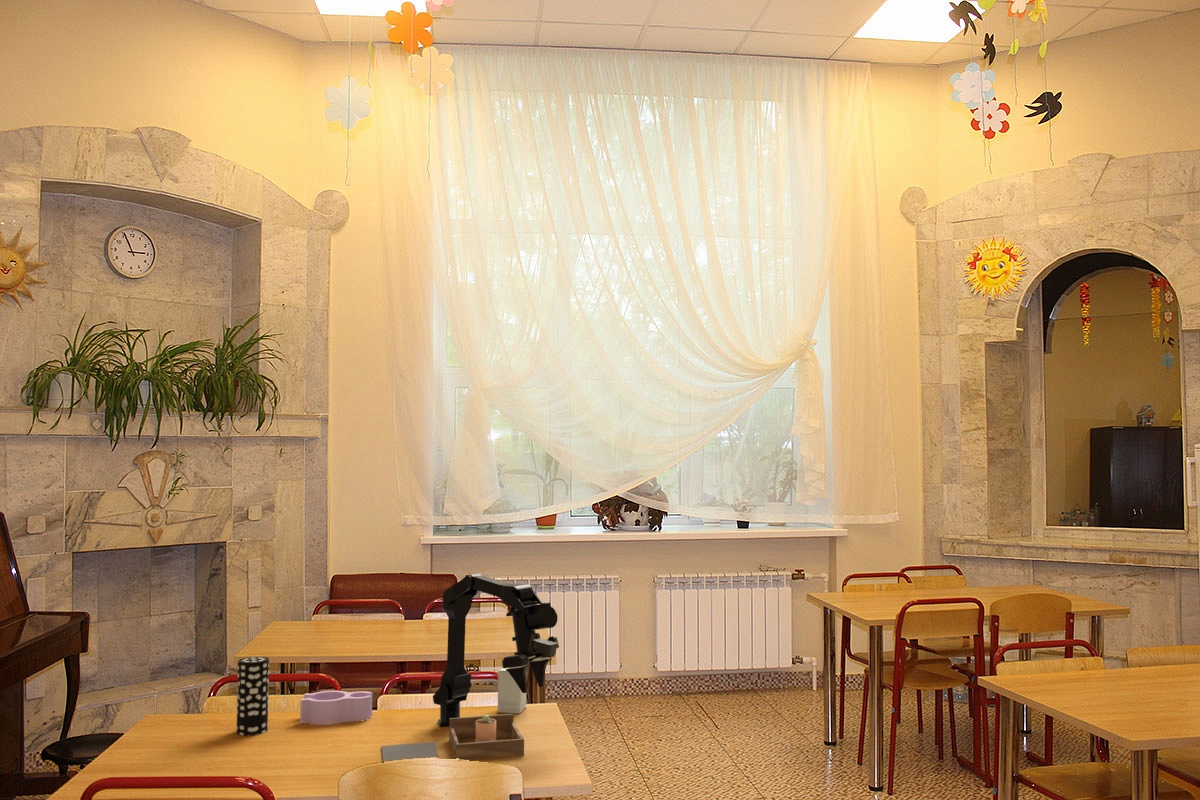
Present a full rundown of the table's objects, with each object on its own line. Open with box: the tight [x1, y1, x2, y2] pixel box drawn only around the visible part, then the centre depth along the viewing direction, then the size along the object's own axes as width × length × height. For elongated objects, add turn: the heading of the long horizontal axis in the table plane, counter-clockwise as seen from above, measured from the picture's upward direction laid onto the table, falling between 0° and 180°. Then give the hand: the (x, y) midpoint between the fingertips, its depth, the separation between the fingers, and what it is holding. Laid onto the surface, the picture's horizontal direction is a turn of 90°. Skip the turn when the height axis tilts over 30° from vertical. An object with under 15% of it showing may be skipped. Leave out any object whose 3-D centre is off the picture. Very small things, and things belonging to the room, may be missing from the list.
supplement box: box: [497, 667, 528, 714], centre depth 289 cm, size 7×7×13 cm
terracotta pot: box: [474, 714, 497, 742], centre depth 252 cm, size 6×6×9 cm
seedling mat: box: [381, 741, 440, 763], centre depth 247 cm, size 14×14×1 cm
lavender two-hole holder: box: [299, 690, 373, 726], centre depth 280 cm, size 20×12×7 cm, turn 98°
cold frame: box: [448, 713, 525, 760], centre depth 252 cm, size 18×18×6 cm
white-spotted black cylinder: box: [235, 656, 270, 737], centre depth 267 cm, size 8×8×20 cm
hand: (533, 689), depth 254 cm, fingers open, 9 cm apart
